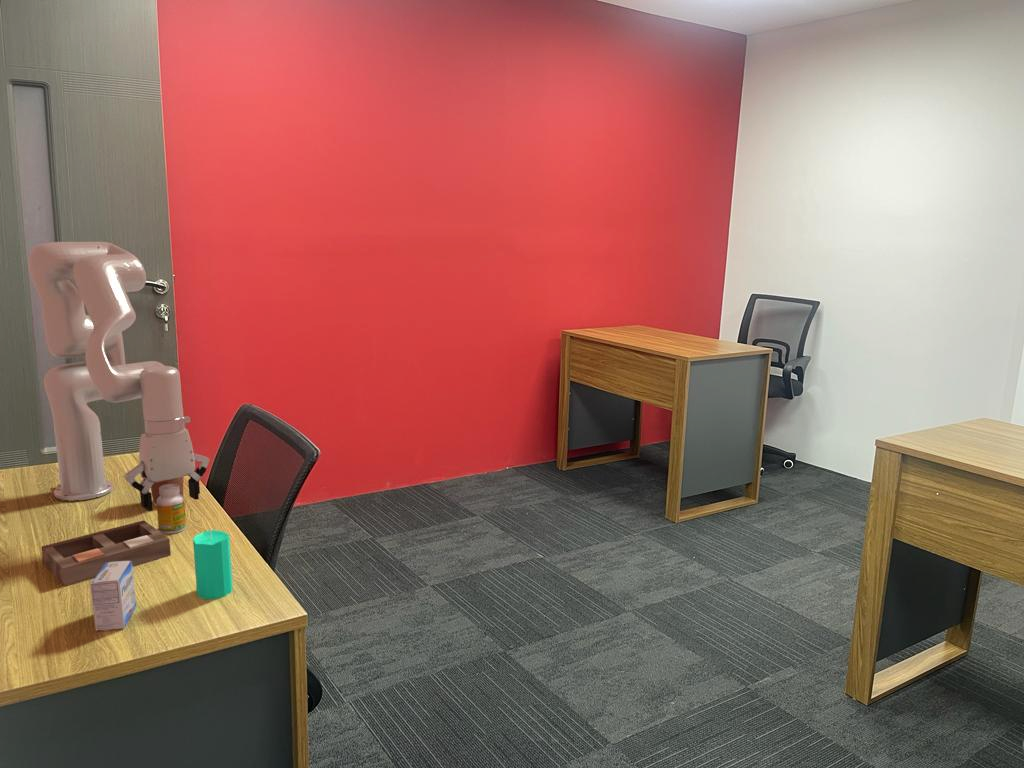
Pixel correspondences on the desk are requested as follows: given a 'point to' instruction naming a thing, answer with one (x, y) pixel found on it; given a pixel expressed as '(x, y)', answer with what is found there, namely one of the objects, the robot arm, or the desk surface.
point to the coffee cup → (172, 481)
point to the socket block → (104, 551)
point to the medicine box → (113, 595)
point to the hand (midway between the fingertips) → (171, 503)
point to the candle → (212, 564)
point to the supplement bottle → (171, 509)
